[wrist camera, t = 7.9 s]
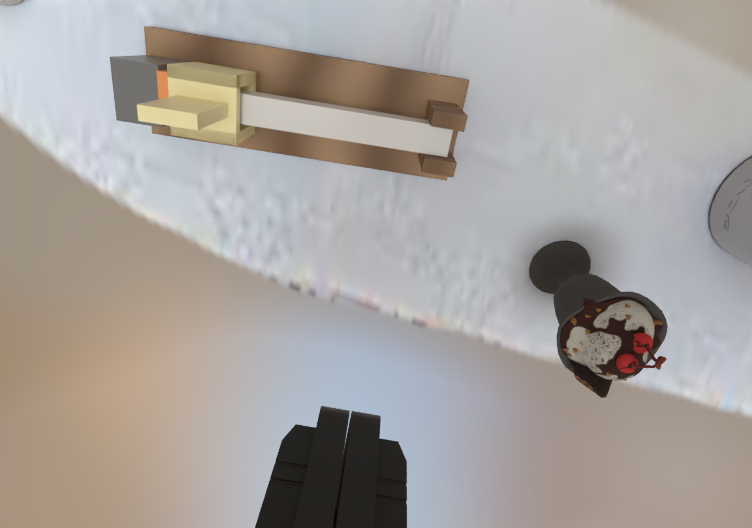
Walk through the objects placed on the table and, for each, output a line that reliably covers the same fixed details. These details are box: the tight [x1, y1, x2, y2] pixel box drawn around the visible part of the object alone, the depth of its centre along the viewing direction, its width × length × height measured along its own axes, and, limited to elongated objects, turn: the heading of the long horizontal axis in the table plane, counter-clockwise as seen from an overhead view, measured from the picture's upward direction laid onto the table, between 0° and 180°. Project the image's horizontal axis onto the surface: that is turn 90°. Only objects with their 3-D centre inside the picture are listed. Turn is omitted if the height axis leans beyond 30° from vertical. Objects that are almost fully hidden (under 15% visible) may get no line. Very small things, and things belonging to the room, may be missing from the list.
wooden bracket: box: [144, 26, 469, 180], centre depth 29 cm, size 22×7×6 cm, turn 81°
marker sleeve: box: [137, 62, 256, 145], centre depth 26 cm, size 4×4×8 cm
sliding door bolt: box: [110, 55, 453, 157], centre depth 29 cm, size 21×4×5 cm, turn 81°
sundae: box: [529, 241, 667, 398], centre depth 30 cm, size 7×7×15 cm
